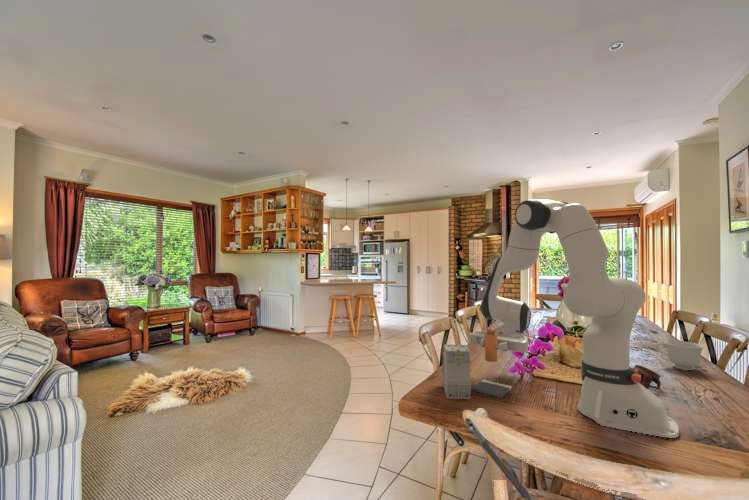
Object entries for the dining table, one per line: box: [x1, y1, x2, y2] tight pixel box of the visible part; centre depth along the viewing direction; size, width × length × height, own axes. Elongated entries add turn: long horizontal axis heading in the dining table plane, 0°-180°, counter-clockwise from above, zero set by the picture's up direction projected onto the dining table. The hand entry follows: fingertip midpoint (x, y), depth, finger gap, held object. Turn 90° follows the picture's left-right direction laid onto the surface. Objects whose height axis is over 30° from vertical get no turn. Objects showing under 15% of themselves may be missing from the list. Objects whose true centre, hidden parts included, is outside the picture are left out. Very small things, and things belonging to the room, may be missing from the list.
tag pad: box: [471, 379, 512, 399], centre depth 113 cm, size 10×10×1 cm
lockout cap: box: [484, 328, 498, 363], centre depth 114 cm, size 4×4×10 cm
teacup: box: [655, 339, 705, 371], centre depth 136 cm, size 12×15×10 cm
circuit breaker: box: [442, 343, 472, 400], centre depth 113 cm, size 8×14×15 cm, turn 174°
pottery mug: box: [632, 364, 661, 390], centre depth 115 cm, size 12×10×8 cm
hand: (490, 345), depth 113 cm, fingers closed on lockout cap, 4 cm apart
